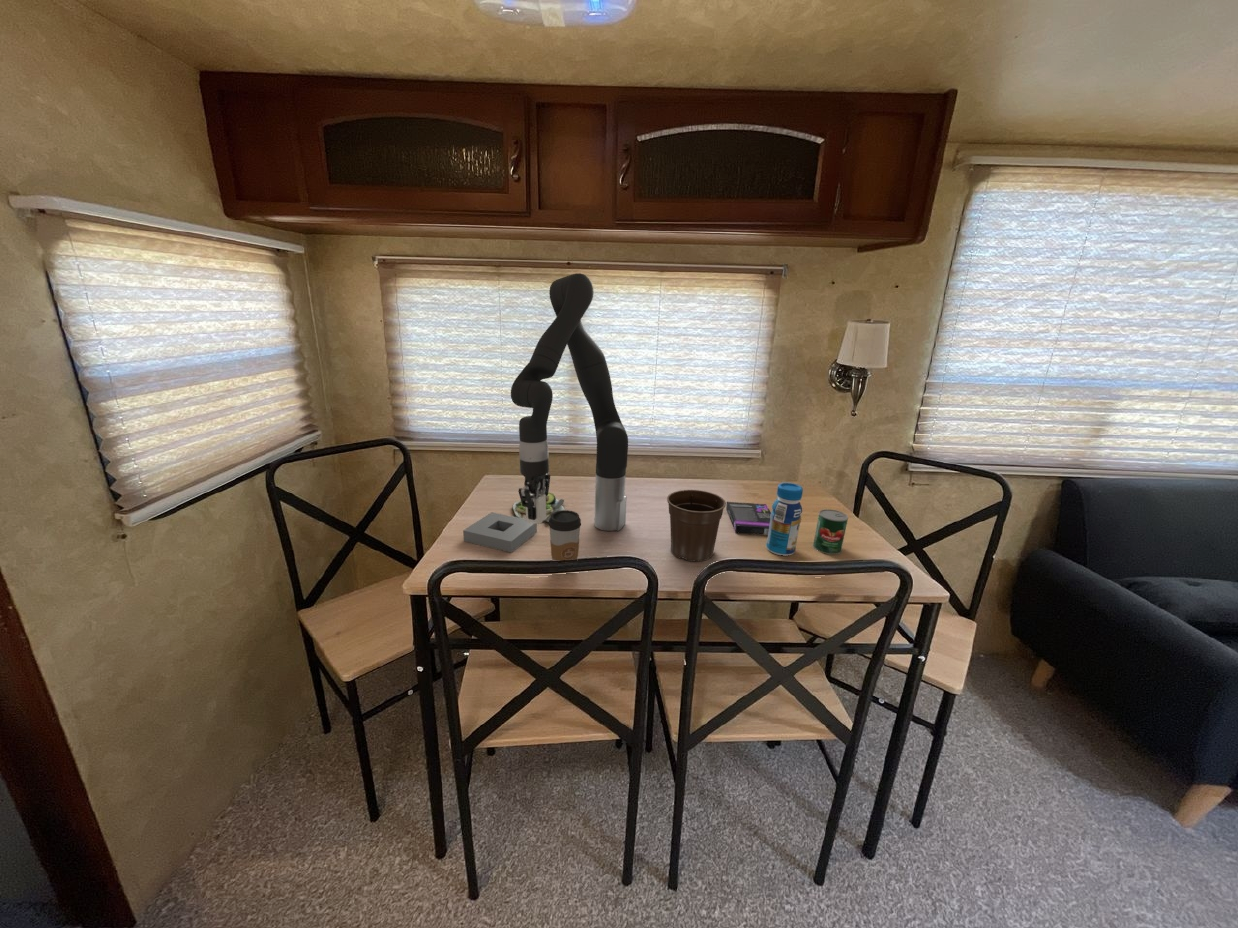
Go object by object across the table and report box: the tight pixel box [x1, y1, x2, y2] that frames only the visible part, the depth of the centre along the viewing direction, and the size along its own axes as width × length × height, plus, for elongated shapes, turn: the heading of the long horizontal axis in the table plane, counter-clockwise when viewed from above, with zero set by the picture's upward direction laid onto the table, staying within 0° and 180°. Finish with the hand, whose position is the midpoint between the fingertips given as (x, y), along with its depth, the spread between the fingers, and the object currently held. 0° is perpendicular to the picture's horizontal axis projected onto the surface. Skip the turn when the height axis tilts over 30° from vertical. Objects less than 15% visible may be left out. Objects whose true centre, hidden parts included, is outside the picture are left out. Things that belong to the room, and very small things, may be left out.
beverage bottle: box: [765, 482, 804, 557], centre depth 139 cm, size 8×8×20 cm
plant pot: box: [666, 489, 727, 562], centre depth 136 cm, size 16×16×16 cm
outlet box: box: [462, 511, 538, 553], centre depth 143 cm, size 16×14×4 cm
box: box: [725, 501, 772, 536], centre depth 160 cm, size 14×4×20 cm
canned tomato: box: [812, 508, 849, 555], centre depth 142 cm, size 8×8×11 cm
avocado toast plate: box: [512, 492, 565, 523], centre depth 159 cm, size 19×18×5 cm
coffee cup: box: [548, 509, 582, 561], centre depth 126 cm, size 8×8×15 cm
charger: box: [525, 494, 546, 525], centre depth 131 cm, size 4×4×7 cm
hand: (536, 515), depth 132 cm, fingers closed on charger, 4 cm apart
